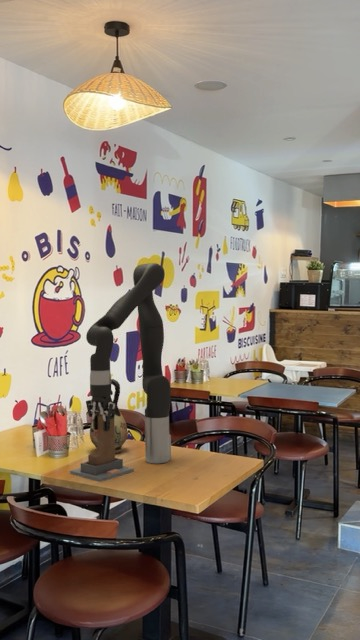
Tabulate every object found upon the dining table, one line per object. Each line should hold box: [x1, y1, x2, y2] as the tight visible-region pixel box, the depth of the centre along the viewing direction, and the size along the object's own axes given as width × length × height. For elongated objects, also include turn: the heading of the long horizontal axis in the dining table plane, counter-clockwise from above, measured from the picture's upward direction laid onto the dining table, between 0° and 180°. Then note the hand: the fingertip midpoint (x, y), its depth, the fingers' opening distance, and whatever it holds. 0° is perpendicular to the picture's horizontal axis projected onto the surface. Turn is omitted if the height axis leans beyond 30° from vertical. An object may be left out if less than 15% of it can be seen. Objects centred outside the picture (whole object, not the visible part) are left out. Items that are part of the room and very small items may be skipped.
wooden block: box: [87, 415, 116, 466], centre depth 221 cm, size 9×4×18 cm, turn 137°
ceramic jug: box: [89, 378, 129, 454], centre depth 251 cm, size 17×15×30 cm
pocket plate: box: [69, 457, 135, 482], centre depth 221 cm, size 16×16×4 cm
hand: (101, 430), depth 221 cm, fingers closed on wooden block, 4 cm apart
